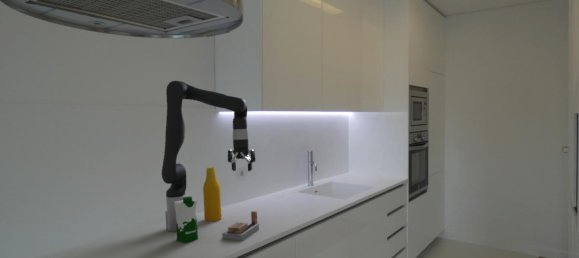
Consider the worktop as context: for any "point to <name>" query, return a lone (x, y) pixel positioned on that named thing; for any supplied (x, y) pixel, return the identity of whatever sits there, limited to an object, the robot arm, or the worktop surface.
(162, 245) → the worktop surface
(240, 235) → the lane
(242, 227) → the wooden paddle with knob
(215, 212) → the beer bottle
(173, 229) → the robot arm
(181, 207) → the milk carton
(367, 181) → the worktop surface
